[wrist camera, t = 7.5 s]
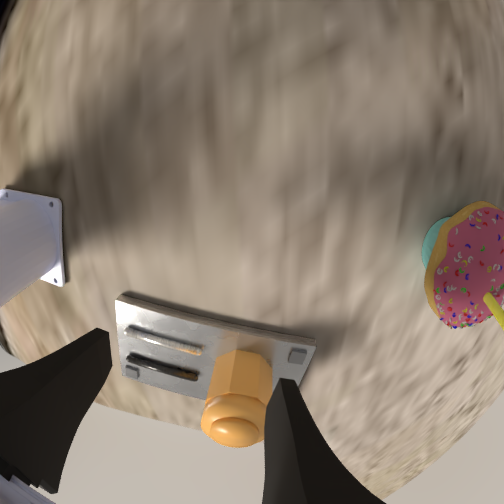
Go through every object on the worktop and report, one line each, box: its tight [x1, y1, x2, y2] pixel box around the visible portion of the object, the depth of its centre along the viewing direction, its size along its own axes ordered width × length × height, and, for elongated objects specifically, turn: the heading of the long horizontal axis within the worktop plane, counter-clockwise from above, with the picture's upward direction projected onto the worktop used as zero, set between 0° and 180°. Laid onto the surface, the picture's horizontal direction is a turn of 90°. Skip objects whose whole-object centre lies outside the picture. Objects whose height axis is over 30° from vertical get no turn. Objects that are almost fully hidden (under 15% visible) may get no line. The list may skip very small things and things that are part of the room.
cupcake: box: [422, 201, 504, 330], centre depth 12 cm, size 9×8×12 cm
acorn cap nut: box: [201, 349, 273, 448], centre depth 18 cm, size 5×5×7 cm
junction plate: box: [115, 294, 317, 400], centre depth 21 cm, size 16×9×4 cm, turn 78°
